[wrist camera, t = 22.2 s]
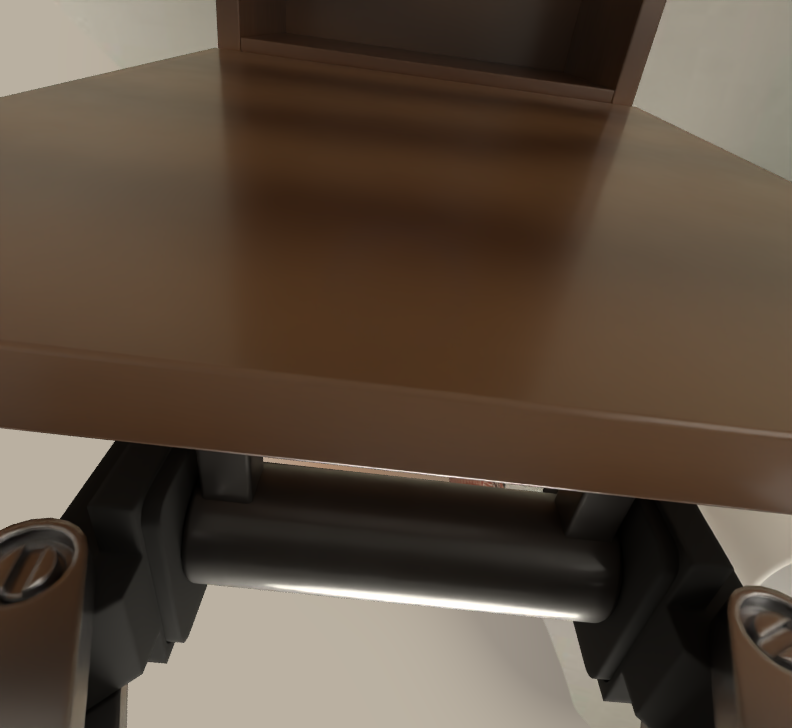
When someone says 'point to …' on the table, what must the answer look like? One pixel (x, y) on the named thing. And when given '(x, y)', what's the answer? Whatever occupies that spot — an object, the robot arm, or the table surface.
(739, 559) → the drinking glass
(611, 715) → the table surface
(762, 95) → the table surface
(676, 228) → the lid
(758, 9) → the table surface
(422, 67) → the chest
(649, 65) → the table surface
